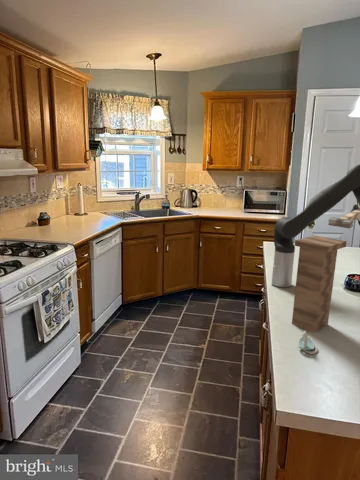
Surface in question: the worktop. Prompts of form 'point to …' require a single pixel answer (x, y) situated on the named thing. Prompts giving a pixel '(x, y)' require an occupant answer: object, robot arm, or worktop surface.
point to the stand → (315, 281)
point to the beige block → (345, 219)
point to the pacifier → (307, 344)
